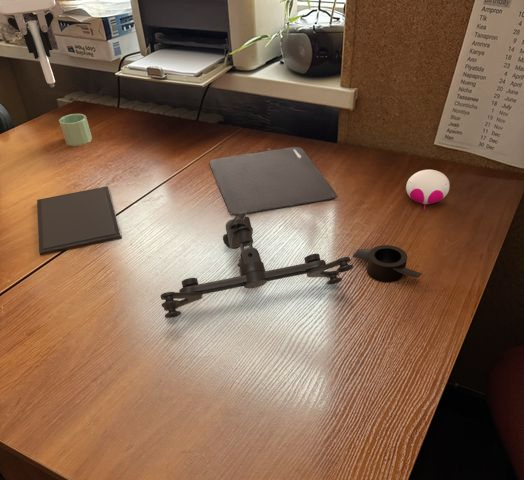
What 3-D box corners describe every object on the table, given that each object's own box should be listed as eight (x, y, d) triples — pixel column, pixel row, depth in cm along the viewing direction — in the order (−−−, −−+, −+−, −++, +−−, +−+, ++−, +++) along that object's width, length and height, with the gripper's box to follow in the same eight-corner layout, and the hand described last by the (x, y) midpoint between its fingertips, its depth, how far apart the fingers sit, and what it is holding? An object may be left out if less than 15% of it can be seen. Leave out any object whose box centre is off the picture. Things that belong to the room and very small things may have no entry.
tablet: (38, 202, 100) (36, 199, 100) (108, 189, 103) (107, 185, 102) (40, 255, 87) (38, 252, 86) (121, 238, 89) (120, 234, 89)
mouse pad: (339, 198, 96) (339, 197, 96) (230, 216, 93) (230, 215, 92) (300, 146, 113) (300, 145, 113) (208, 160, 110) (208, 159, 110)
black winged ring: (391, 249, 83) (394, 234, 81) (424, 283, 76) (427, 267, 74) (349, 259, 82) (350, 244, 80) (378, 295, 75) (380, 279, 73)
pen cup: (63, 148, 119) (55, 124, 115) (69, 138, 123) (62, 114, 119) (90, 146, 119) (83, 122, 115) (94, 136, 123) (88, 112, 119)
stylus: (47, 88, 98) (26, 22, 91) (49, 85, 100) (28, 20, 92) (55, 87, 98) (35, 22, 91) (57, 85, 100) (37, 20, 92)
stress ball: (401, 219, 96) (402, 203, 89) (407, 181, 97) (409, 162, 90) (443, 223, 94) (447, 206, 87) (449, 183, 95) (453, 164, 88)
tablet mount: (169, 331, 82) (161, 304, 65) (151, 249, 84) (138, 203, 67) (326, 298, 86) (355, 265, 69) (305, 221, 88) (329, 171, 72)
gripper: (50, -76, 86) (82, 45, 99) (-47, -68, 83) (-1, 57, 96) (53, -73, 81) (86, 55, 94) (-51, -63, 78) (-2, 67, 91)
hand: (42, 55), depth 95 cm, fingers closed on stylus, 1 cm apart
